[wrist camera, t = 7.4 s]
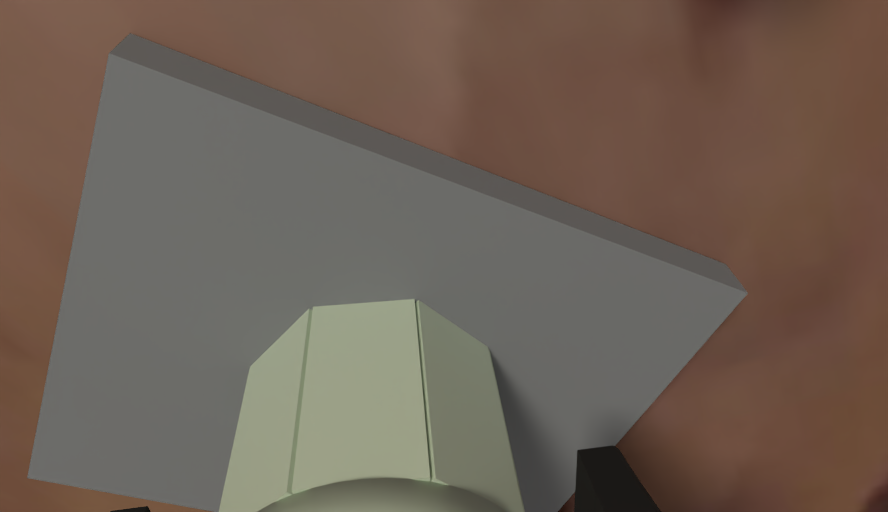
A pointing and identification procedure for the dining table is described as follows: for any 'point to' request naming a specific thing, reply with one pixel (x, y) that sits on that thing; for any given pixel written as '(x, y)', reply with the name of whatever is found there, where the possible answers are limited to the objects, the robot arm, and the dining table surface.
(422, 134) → the dining table surface
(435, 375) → the cap
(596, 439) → the mat
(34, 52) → the dining table surface
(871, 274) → the dining table surface
